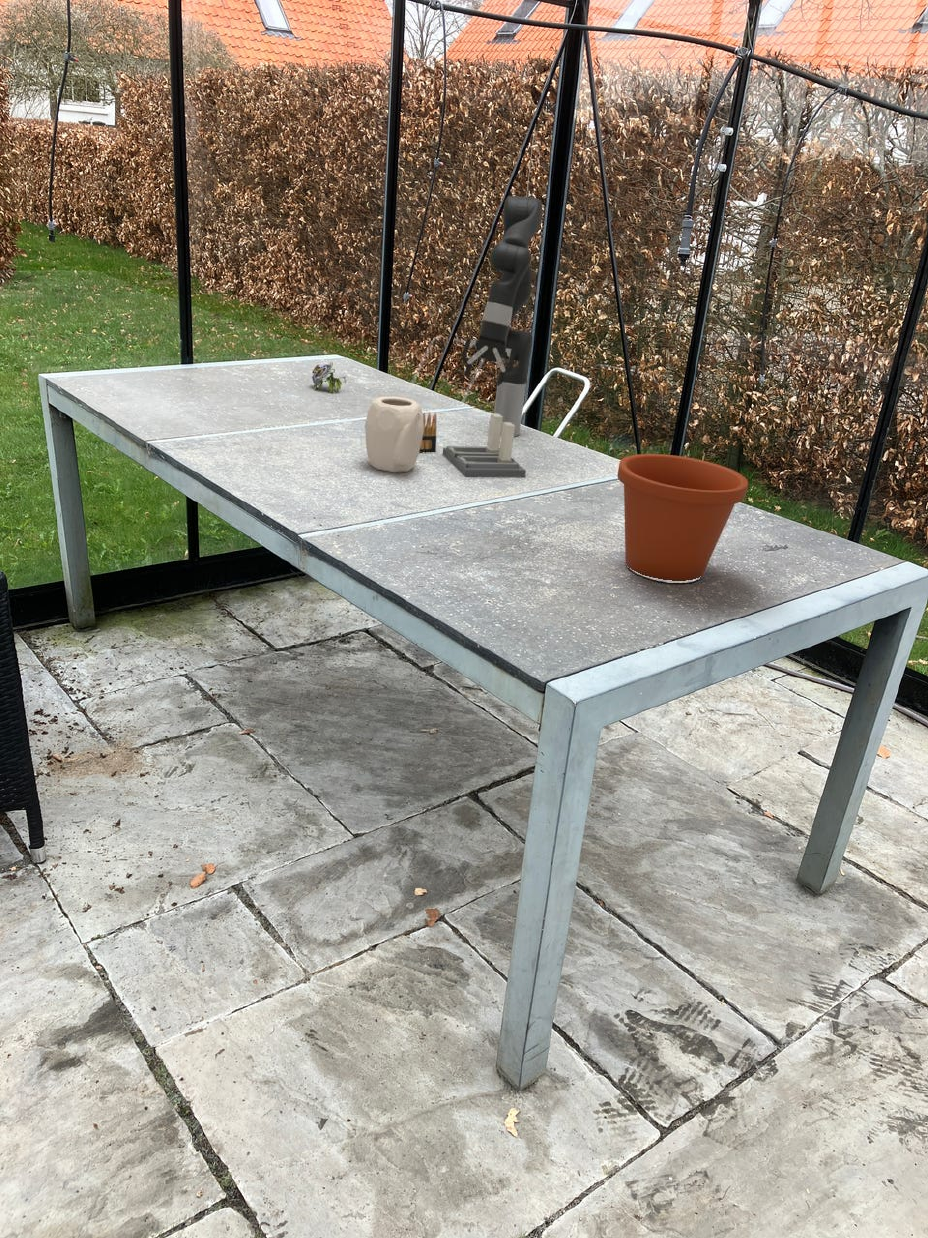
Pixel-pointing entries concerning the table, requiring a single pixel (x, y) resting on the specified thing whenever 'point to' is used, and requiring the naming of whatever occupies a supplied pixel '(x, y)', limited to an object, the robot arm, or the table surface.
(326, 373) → the passion flower
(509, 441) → the tab
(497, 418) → the tab
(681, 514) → the flower pot
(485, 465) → the switch board
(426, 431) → the ammunition clip
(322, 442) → the table surface
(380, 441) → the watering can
